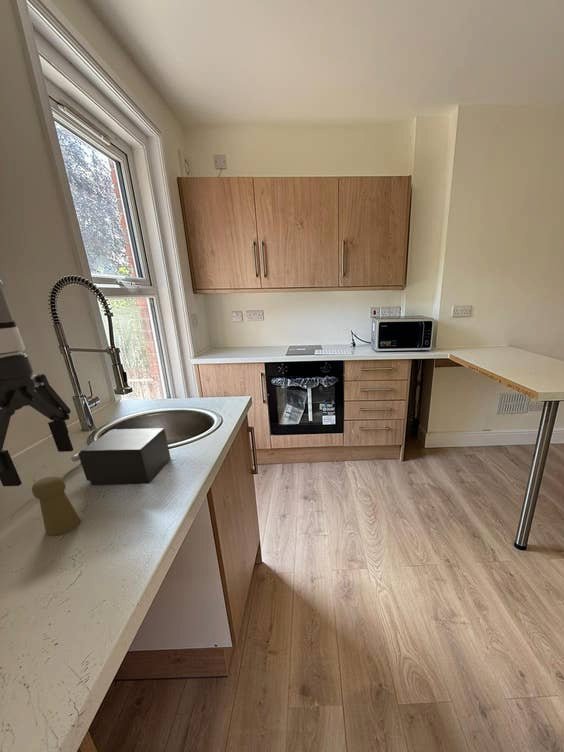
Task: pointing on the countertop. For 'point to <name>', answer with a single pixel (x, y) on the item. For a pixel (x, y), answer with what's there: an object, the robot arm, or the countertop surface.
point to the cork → (55, 506)
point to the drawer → (79, 457)
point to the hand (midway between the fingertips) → (41, 466)
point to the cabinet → (126, 456)
